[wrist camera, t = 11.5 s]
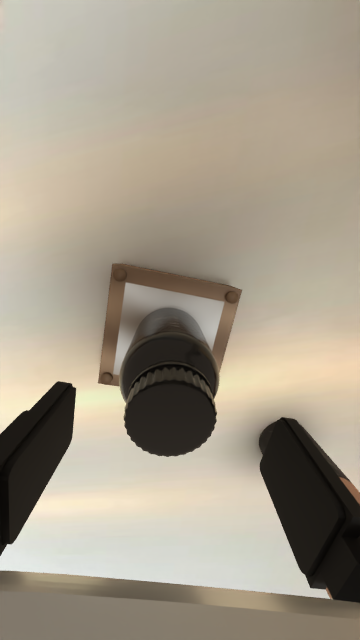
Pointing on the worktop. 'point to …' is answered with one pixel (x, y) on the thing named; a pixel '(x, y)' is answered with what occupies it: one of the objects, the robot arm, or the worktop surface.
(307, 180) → the worktop surface
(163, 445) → the supplement bottle
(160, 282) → the walnut base block
